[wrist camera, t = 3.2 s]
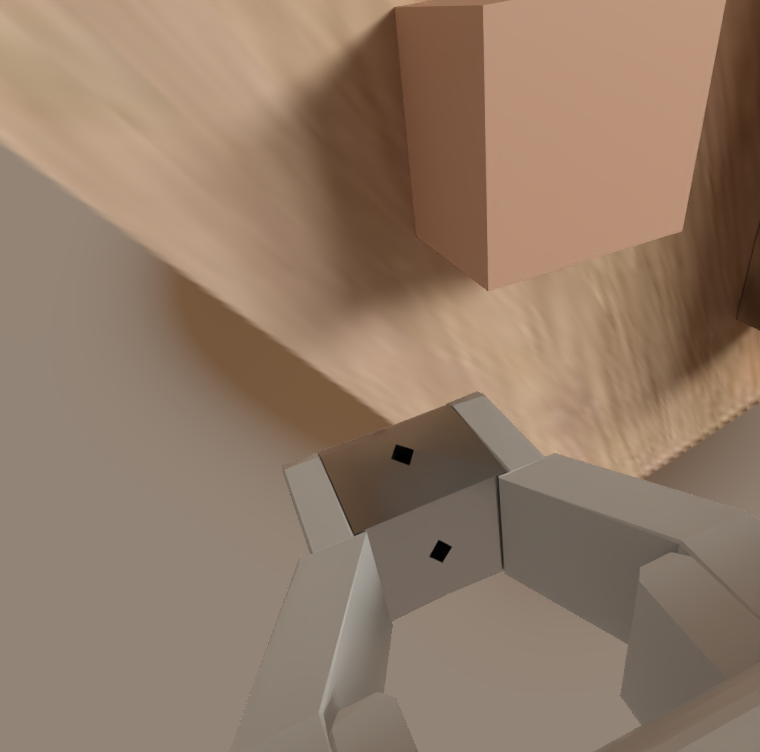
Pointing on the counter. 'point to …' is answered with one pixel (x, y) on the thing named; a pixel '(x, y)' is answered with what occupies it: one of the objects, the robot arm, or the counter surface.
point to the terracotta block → (551, 126)
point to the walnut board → (752, 290)
